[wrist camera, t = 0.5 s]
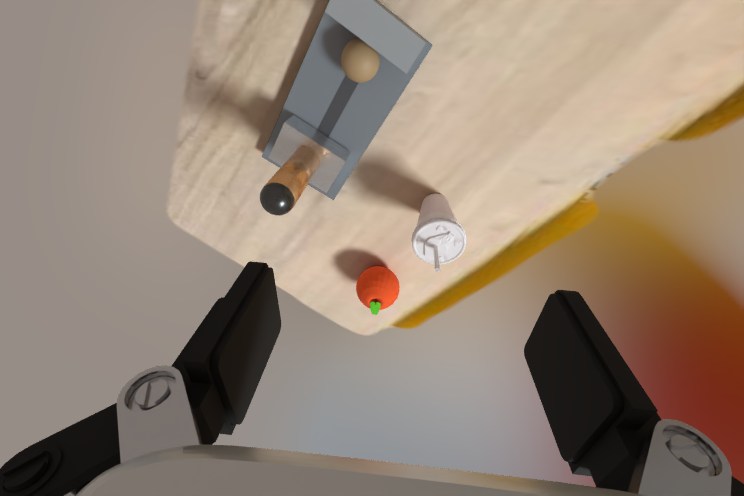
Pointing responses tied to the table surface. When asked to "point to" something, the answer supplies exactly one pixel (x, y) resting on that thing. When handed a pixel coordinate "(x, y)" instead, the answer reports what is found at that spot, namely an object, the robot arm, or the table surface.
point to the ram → (300, 165)
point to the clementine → (377, 288)
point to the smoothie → (438, 232)
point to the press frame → (352, 77)
